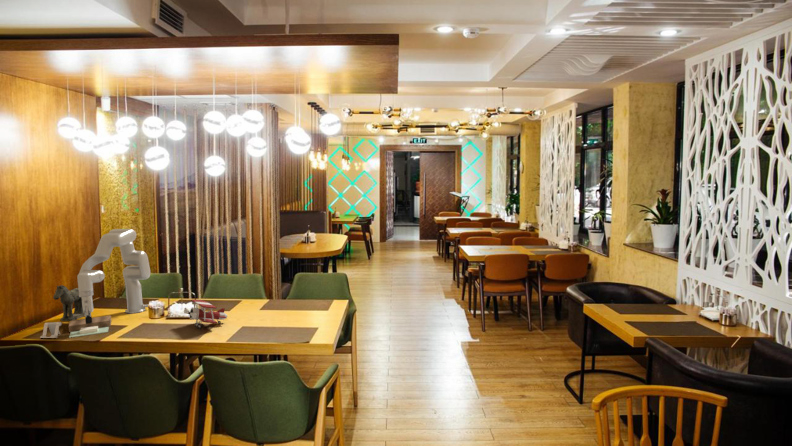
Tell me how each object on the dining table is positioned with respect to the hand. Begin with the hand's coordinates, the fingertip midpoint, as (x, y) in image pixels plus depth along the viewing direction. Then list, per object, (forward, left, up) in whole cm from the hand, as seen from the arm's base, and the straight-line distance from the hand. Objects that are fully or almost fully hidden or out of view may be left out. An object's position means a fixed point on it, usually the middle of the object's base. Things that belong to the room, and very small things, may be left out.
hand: (88, 323), depth 316 cm
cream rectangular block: (0, +2, -3) cm, 3 cm away
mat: (0, +2, -5) cm, 6 cm away
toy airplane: (-65, +28, -5) cm, 71 cm away
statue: (+14, -38, -5) cm, 41 cm away
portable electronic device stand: (+19, +1, -5) cm, 20 cm away
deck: (0, -11, -5) cm, 12 cm away
